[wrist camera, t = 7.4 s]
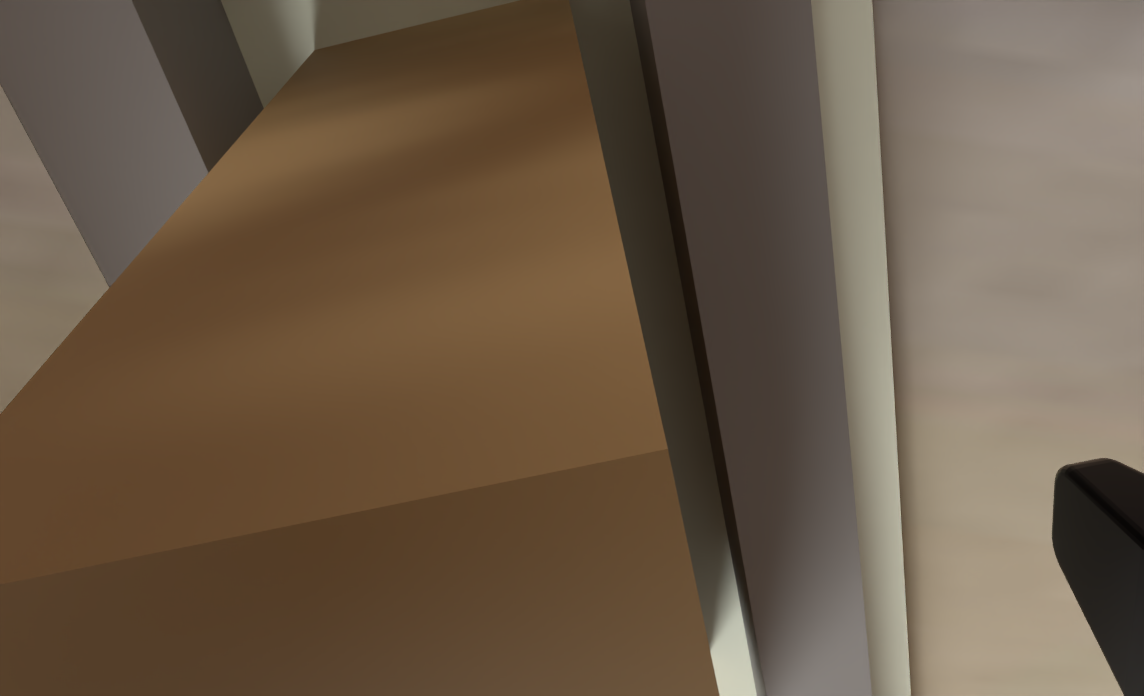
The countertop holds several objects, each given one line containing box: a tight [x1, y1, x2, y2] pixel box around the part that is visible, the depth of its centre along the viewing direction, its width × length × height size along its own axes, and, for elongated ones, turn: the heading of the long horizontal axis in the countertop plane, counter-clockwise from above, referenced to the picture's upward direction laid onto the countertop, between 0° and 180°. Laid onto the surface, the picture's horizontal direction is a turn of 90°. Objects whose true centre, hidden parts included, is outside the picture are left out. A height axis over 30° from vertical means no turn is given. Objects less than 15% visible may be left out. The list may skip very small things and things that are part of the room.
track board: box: [0, 0, 911, 696], centre depth 11 cm, size 8×20×4 cm, turn 13°
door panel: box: [0, 0, 720, 696], centre depth 8 cm, size 2×9×7 cm, turn 12°
